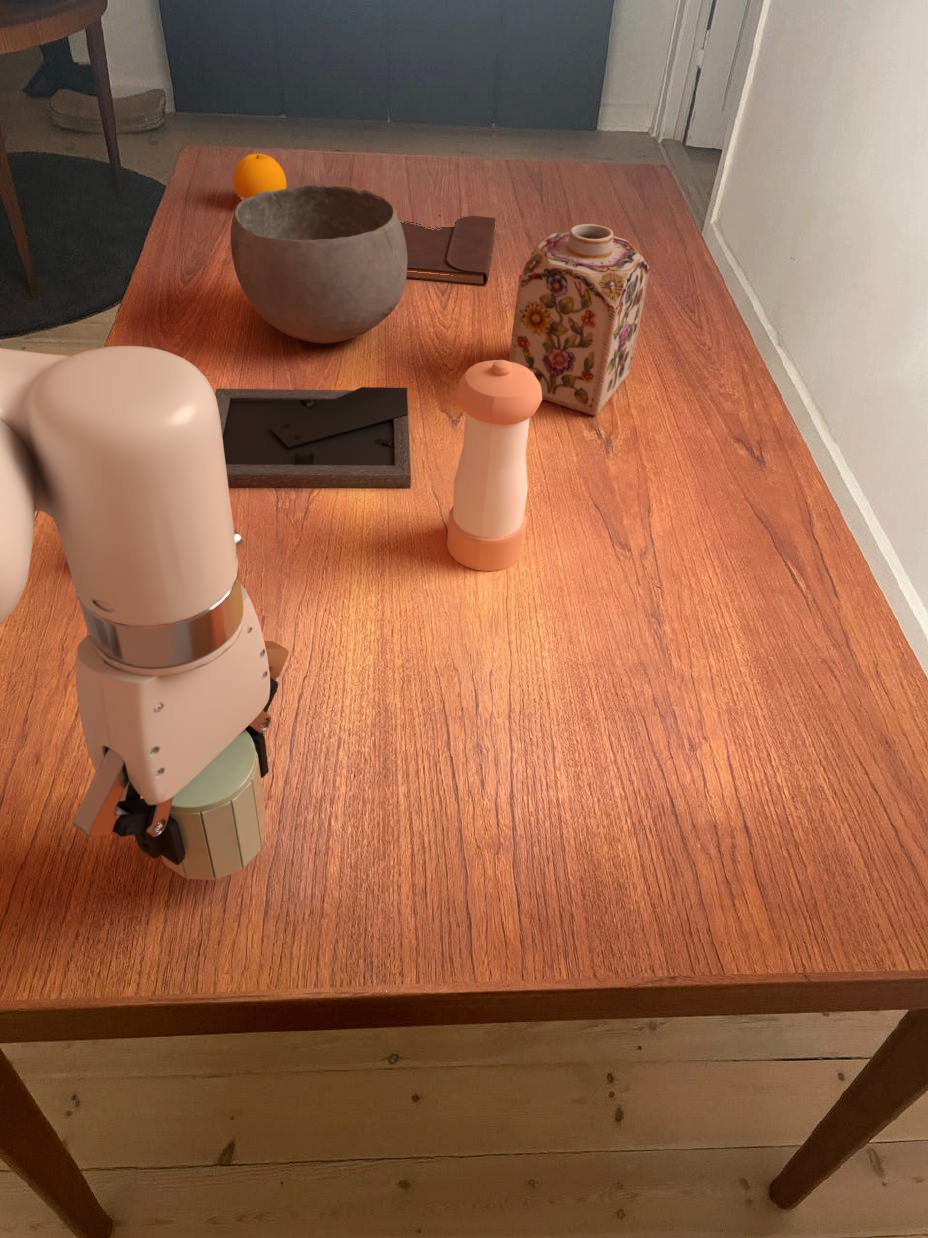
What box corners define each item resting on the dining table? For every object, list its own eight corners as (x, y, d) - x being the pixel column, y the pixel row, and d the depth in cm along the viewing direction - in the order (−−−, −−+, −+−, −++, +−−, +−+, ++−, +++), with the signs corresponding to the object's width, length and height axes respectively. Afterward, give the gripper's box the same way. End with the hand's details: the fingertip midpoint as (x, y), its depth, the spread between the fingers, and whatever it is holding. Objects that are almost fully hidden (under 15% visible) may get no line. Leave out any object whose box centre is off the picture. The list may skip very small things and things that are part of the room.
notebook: (379, 276, 126) (379, 261, 125) (399, 221, 140) (399, 208, 139) (487, 285, 126) (488, 271, 124) (496, 230, 140) (497, 216, 138)
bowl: (431, 313, 119) (435, 194, 109) (363, 386, 105) (360, 258, 95) (292, 280, 124) (283, 163, 113) (209, 346, 110) (190, 219, 99)
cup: (216, 899, 56) (200, 827, 50) (101, 822, 59) (74, 747, 54) (286, 821, 60) (279, 747, 55) (176, 753, 64) (158, 677, 58)
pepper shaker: (486, 512, 90) (503, 331, 76) (539, 549, 86) (566, 366, 73) (431, 542, 86) (438, 357, 73) (483, 582, 82) (501, 396, 69)
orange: (277, 193, 146) (272, 142, 140) (296, 210, 141) (292, 159, 136) (228, 200, 143) (222, 148, 137) (246, 218, 138) (240, 166, 133)
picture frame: (406, 403, 103) (218, 400, 101) (406, 387, 102) (215, 384, 100) (410, 487, 92) (198, 487, 90) (411, 471, 90) (195, 470, 89)
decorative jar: (596, 419, 103) (624, 263, 90) (504, 390, 106) (518, 236, 94) (631, 374, 111) (662, 224, 98) (544, 348, 114) (563, 200, 101)
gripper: (226, 489, 52) (252, 695, 64) (-41, 674, 40) (53, 880, 53) (332, 539, 49) (338, 743, 62) (80, 751, 38) (149, 948, 50)
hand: (206, 805), depth 57 cm, fingers closed on cup, 6 cm apart
